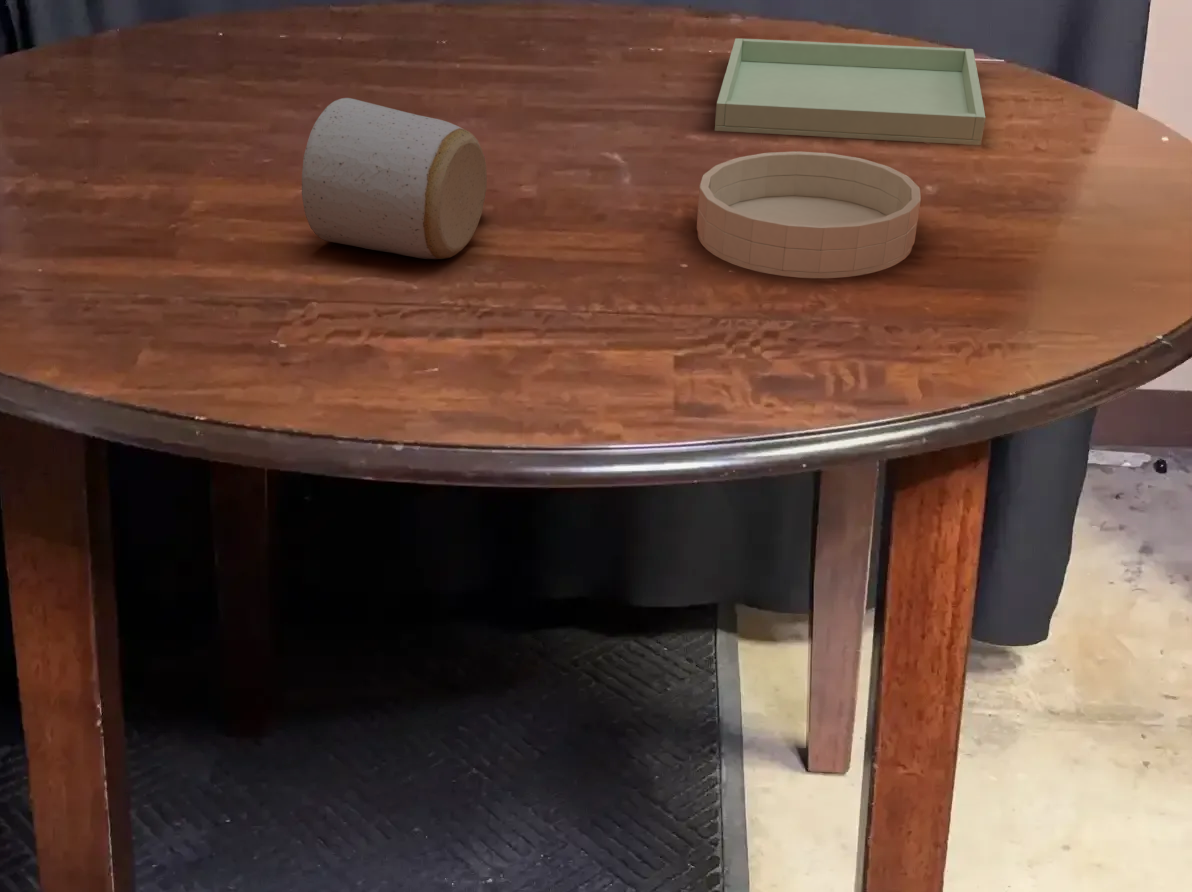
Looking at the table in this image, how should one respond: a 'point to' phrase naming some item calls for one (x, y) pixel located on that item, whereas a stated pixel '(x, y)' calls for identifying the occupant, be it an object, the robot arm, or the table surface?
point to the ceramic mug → (392, 181)
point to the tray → (852, 91)
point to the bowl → (808, 214)
